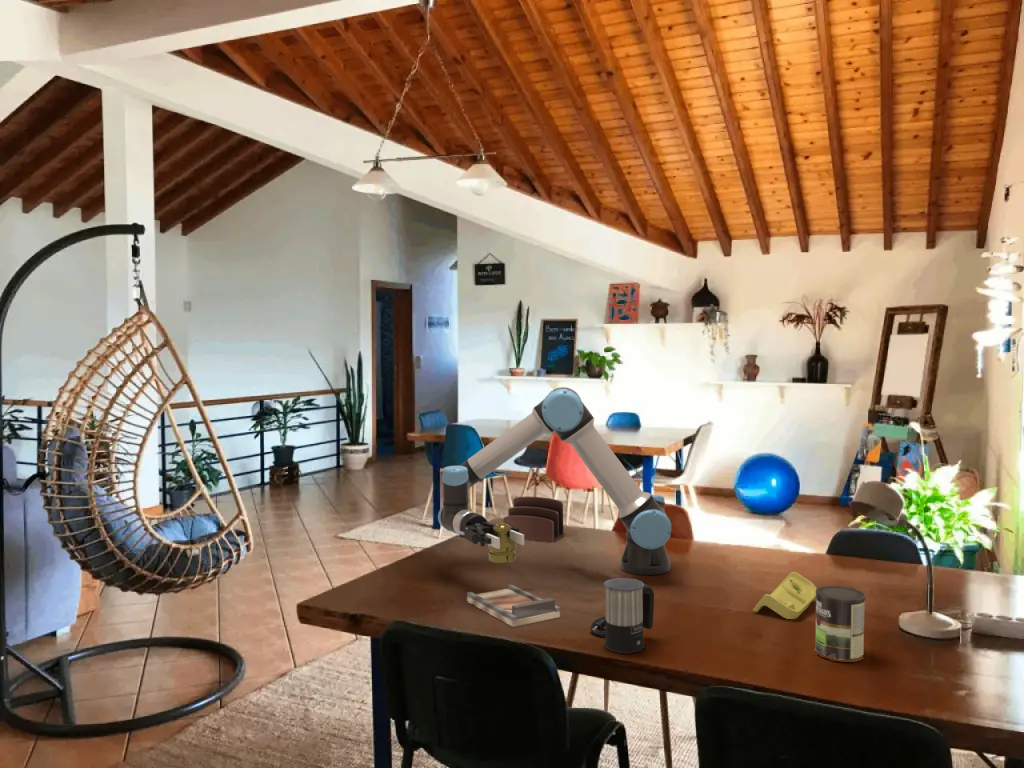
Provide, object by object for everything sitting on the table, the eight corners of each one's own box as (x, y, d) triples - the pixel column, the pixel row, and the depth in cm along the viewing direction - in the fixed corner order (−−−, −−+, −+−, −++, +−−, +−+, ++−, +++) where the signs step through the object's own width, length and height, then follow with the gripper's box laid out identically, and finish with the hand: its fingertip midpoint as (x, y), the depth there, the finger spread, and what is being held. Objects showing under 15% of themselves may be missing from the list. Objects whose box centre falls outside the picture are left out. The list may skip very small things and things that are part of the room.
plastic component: (797, 614, 205) (761, 590, 210) (784, 636, 208) (749, 613, 213) (822, 589, 220) (789, 567, 225) (810, 610, 223) (777, 589, 228)
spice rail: (467, 601, 224) (466, 585, 224) (511, 593, 231) (511, 577, 231) (513, 627, 203) (513, 609, 203) (560, 617, 211) (559, 599, 210)
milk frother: (634, 657, 183) (634, 591, 183) (571, 643, 192) (571, 581, 191) (658, 637, 195) (659, 576, 195) (599, 626, 204) (599, 566, 203)
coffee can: (827, 664, 179) (828, 600, 178) (807, 647, 189) (807, 586, 188) (873, 662, 179) (874, 598, 179) (850, 645, 190) (851, 584, 189)
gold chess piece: (484, 562, 220) (483, 524, 219) (495, 555, 226) (495, 519, 226) (509, 564, 217) (508, 527, 216) (520, 557, 224) (519, 521, 223)
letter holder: (514, 532, 306) (514, 494, 306) (564, 537, 298) (563, 498, 297) (502, 538, 297) (502, 499, 297) (553, 543, 289) (553, 503, 288)
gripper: (500, 534, 242) (542, 550, 222) (439, 542, 232) (478, 561, 212) (500, 508, 241) (542, 523, 222) (439, 516, 232) (477, 532, 212)
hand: (510, 541), depth 217 cm, fingers closed on gold chess piece, 7 cm apart
